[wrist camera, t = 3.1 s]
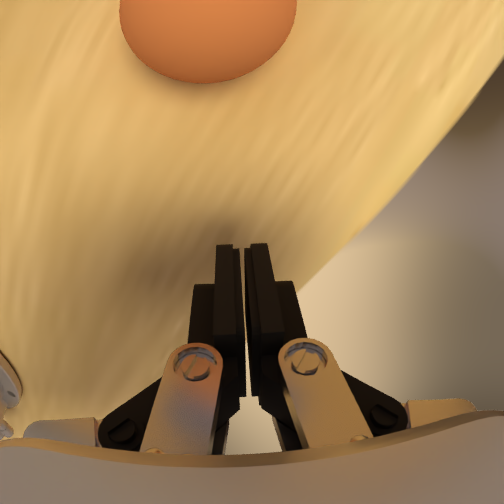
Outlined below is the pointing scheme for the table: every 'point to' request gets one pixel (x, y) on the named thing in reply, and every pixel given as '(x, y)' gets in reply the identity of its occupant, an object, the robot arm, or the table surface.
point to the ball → (206, 35)
